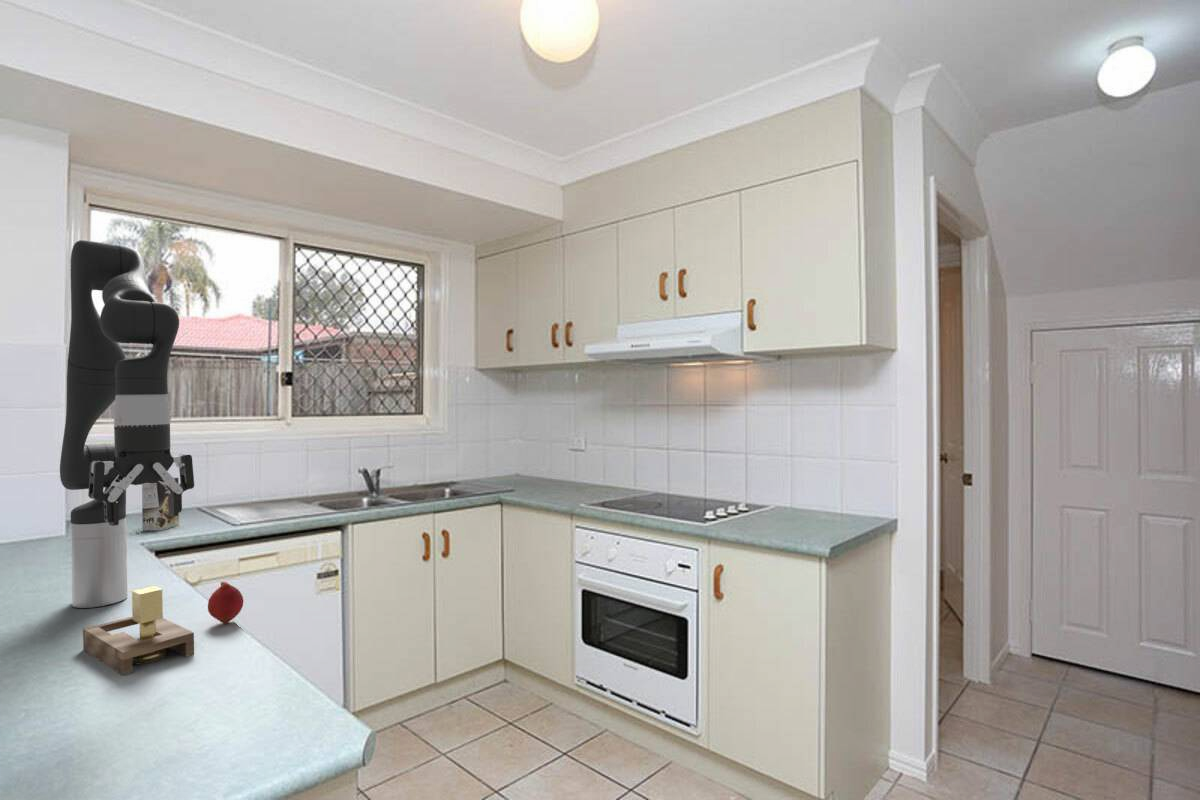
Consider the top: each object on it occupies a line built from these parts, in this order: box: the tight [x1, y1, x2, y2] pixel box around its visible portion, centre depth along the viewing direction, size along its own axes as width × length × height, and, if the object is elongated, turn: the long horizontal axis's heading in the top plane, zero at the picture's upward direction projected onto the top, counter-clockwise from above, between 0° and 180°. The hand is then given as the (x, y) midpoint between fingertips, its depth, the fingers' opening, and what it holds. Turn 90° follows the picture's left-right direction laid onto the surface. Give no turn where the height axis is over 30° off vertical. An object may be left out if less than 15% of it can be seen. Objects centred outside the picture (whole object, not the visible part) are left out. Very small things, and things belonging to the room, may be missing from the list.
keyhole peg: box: [131, 585, 167, 664], centre depth 106 cm, size 5×5×11 cm
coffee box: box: [141, 477, 180, 532], centre depth 212 cm, size 9×6×16 cm
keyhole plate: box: [82, 616, 195, 676], centre depth 109 cm, size 18×10×4 cm, turn 54°
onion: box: [207, 580, 244, 624], centre depth 122 cm, size 6×6×8 cm
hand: (144, 520), depth 106 cm, fingers open, 8 cm apart
